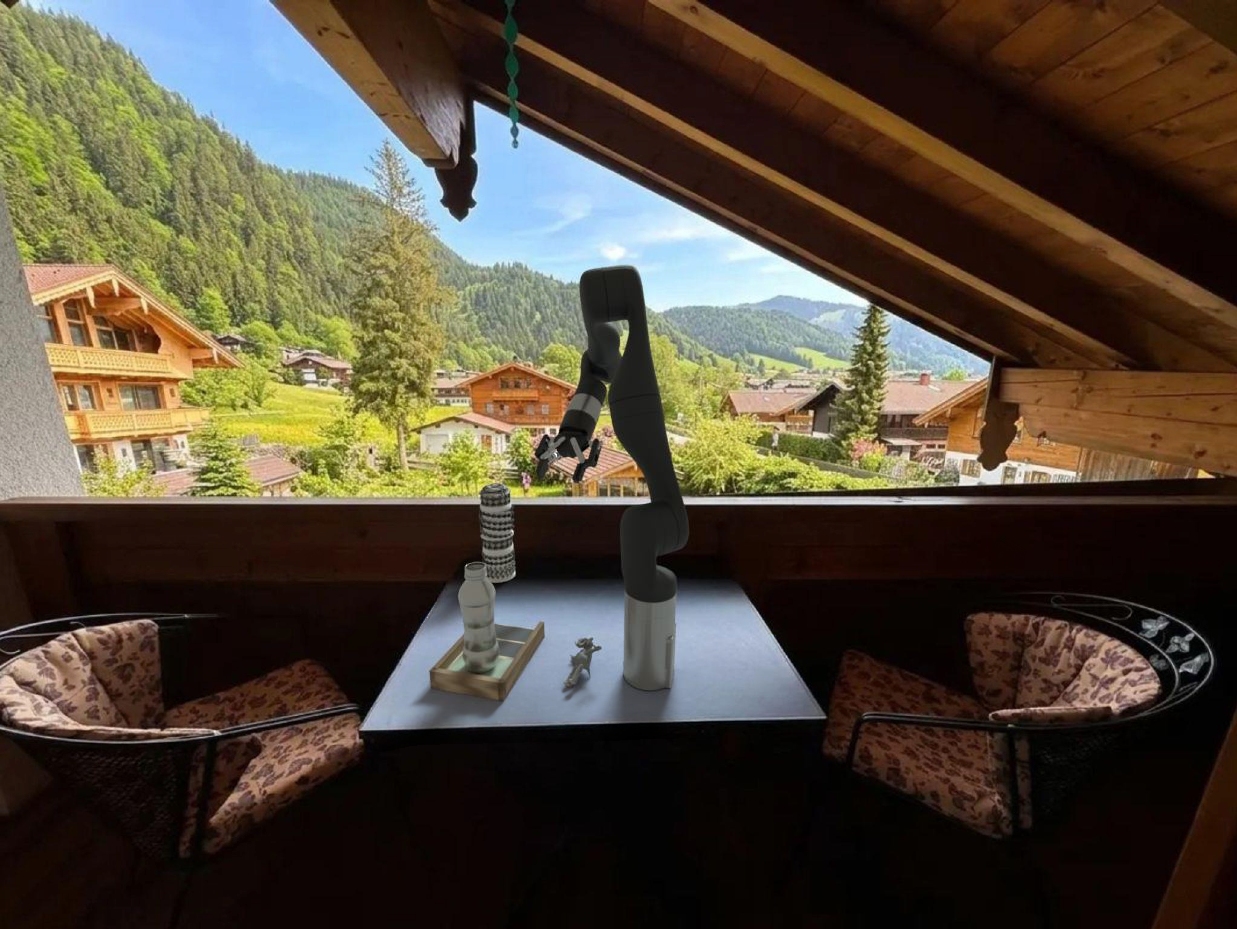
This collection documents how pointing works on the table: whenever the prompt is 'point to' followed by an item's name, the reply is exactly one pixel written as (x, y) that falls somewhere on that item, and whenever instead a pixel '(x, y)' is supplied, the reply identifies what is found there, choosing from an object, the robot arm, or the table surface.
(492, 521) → the decorative candle
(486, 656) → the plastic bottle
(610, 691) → the table surface
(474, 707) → the table surface
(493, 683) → the box
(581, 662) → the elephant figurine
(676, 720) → the table surface
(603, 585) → the table surface
